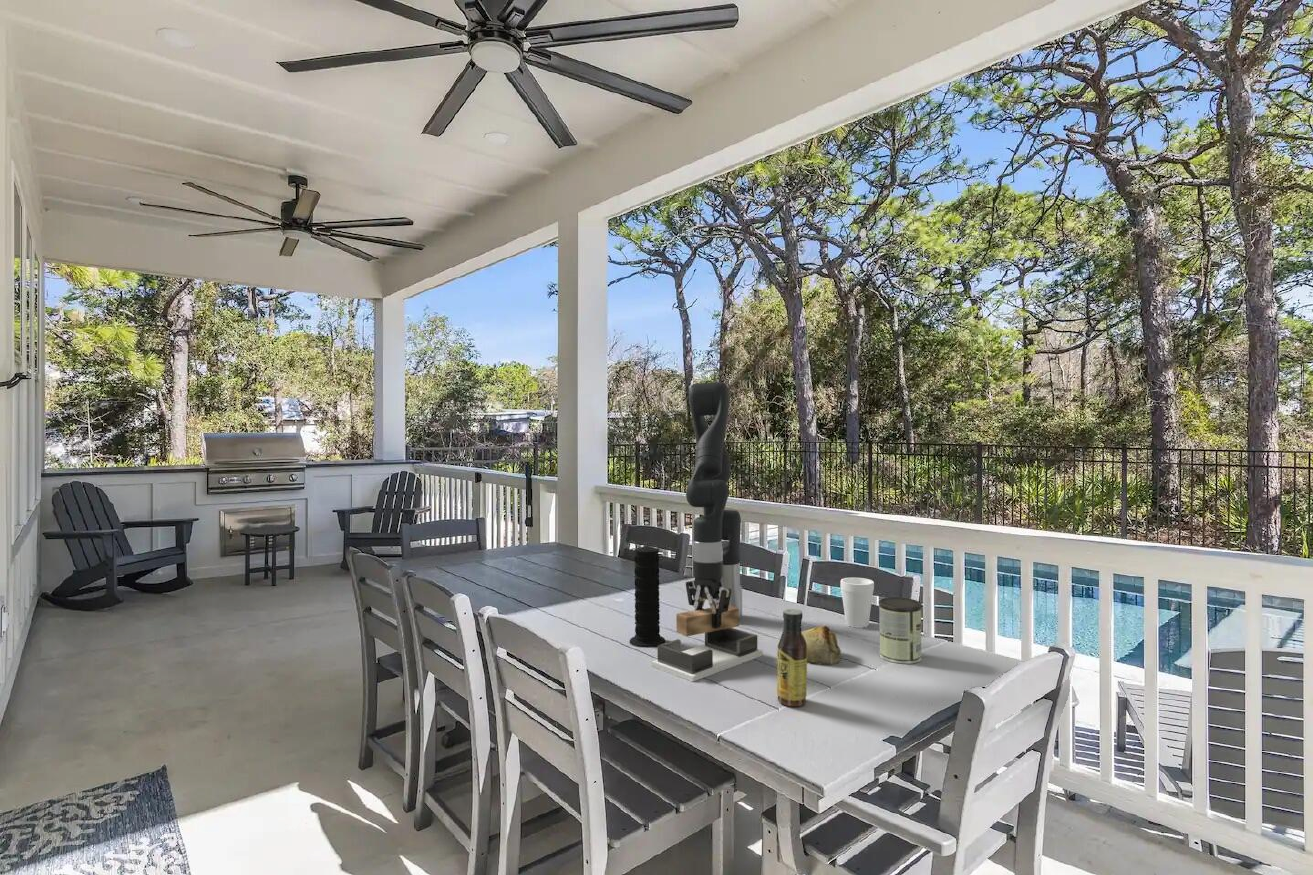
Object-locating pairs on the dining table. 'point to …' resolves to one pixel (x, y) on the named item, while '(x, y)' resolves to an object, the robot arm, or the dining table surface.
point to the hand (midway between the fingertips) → (708, 625)
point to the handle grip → (647, 598)
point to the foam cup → (857, 600)
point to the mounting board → (719, 662)
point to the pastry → (821, 645)
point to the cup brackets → (719, 640)
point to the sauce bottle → (792, 661)
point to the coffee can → (900, 630)
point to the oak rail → (705, 621)
